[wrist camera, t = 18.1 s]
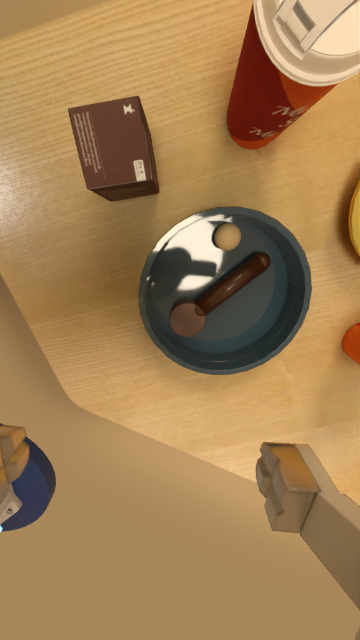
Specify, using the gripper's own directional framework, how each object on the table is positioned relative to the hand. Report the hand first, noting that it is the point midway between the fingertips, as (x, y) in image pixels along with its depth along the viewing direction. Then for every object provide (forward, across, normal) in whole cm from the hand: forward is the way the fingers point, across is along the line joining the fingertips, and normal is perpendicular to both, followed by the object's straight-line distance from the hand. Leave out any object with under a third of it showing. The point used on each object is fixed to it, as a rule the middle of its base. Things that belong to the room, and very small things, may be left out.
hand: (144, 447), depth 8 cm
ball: (+22, -6, -8) cm, 24 cm away
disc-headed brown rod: (+24, -6, 0) cm, 24 cm away
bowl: (+24, -6, 0) cm, 25 cm away
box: (+24, +6, -14) cm, 29 cm away
